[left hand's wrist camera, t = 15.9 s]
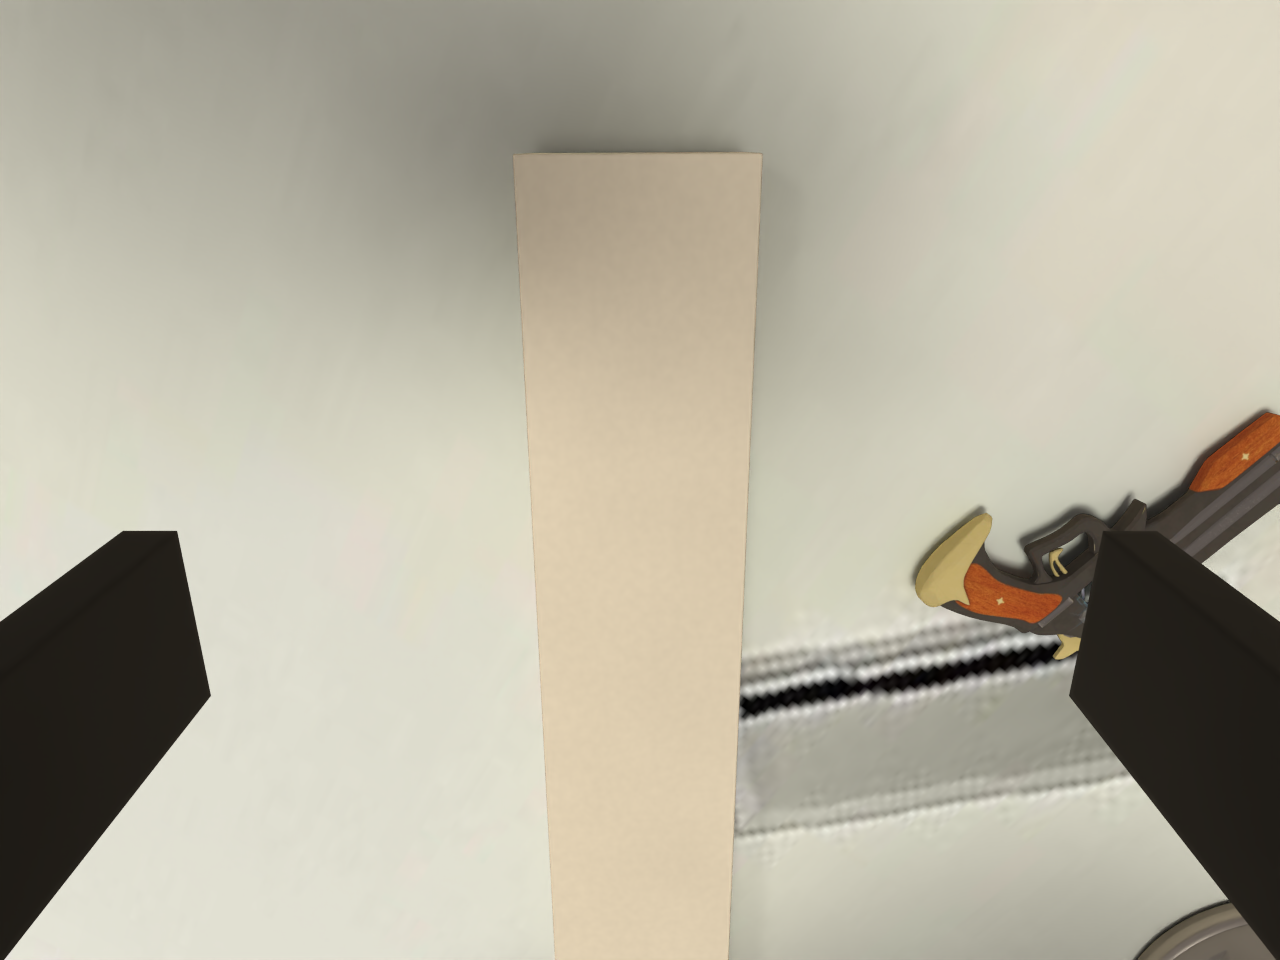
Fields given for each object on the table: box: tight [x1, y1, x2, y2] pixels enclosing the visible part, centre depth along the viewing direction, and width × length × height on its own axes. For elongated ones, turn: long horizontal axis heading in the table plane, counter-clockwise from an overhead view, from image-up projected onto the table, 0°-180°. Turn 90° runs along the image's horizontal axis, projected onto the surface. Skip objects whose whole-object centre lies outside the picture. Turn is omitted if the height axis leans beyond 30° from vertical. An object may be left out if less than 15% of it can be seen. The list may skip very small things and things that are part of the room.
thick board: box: [513, 152, 763, 960], centre depth 45 cm, size 56×9×7 cm, turn 0°
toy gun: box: [915, 413, 1280, 659], centre depth 43 cm, size 3×19×10 cm
